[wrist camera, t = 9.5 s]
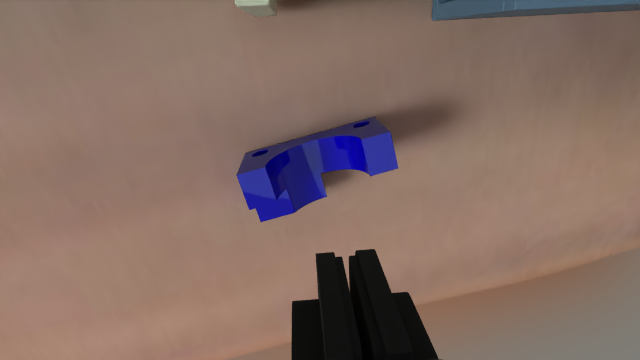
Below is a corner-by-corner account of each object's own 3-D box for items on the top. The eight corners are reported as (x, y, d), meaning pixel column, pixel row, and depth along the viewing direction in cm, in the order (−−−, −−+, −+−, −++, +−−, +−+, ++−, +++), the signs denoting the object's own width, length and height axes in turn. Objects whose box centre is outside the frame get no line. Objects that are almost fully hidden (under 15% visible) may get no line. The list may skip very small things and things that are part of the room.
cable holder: (263, 204, 25) (258, 234, 21) (245, 153, 23) (236, 175, 20) (386, 170, 24) (403, 194, 21) (374, 116, 23) (390, 131, 19)
